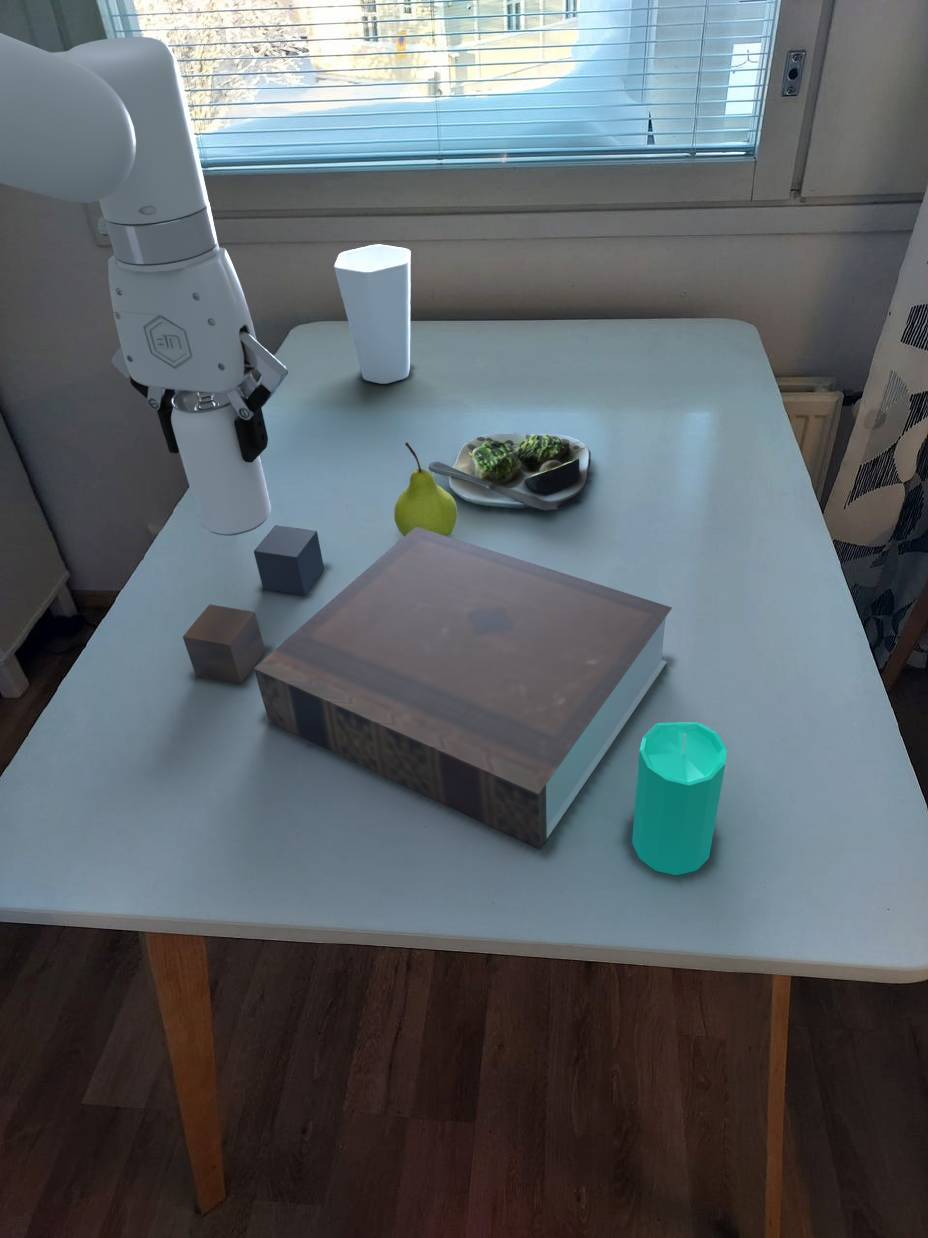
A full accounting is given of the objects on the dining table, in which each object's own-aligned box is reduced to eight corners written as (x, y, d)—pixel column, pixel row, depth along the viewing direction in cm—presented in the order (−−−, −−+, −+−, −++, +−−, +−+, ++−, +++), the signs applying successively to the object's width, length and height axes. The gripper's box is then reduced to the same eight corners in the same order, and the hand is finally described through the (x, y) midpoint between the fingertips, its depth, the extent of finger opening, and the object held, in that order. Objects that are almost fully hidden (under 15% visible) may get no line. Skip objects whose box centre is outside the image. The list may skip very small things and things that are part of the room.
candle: (723, 830, 72) (742, 721, 64) (694, 888, 68) (711, 780, 60) (650, 800, 74) (661, 692, 67) (618, 854, 71) (626, 747, 63)
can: (202, 543, 81) (166, 419, 74) (199, 506, 86) (164, 386, 79) (275, 529, 82) (247, 405, 75) (268, 492, 87) (241, 373, 80)
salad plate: (413, 513, 109) (409, 479, 106) (447, 439, 122) (445, 407, 119) (578, 525, 105) (578, 490, 102) (595, 447, 118) (596, 414, 115)
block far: (262, 589, 100) (253, 551, 96) (283, 562, 103) (275, 524, 100) (304, 595, 98) (296, 557, 95) (324, 568, 102) (317, 530, 99)
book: (539, 849, 71) (538, 794, 67) (268, 721, 84) (253, 668, 80) (666, 662, 87) (672, 607, 83) (421, 577, 99) (415, 526, 95)
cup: (417, 388, 135) (405, 269, 124) (348, 391, 135) (330, 273, 124) (423, 356, 143) (412, 242, 132) (358, 358, 144) (342, 245, 133)
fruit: (471, 539, 104) (465, 444, 97) (427, 566, 101) (416, 470, 93) (430, 517, 108) (420, 424, 101) (385, 542, 105) (372, 448, 97)
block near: (195, 676, 90) (182, 636, 86) (221, 642, 93) (209, 603, 90) (241, 684, 88) (229, 645, 85) (265, 650, 92) (255, 611, 89)
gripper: (35, 247, 68) (109, 461, 80) (242, 258, 63) (289, 484, 75) (96, 216, 74) (157, 420, 85) (291, 223, 69) (328, 439, 80)
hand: (218, 448), depth 80 cm, fingers closed on can, 6 cm apart
